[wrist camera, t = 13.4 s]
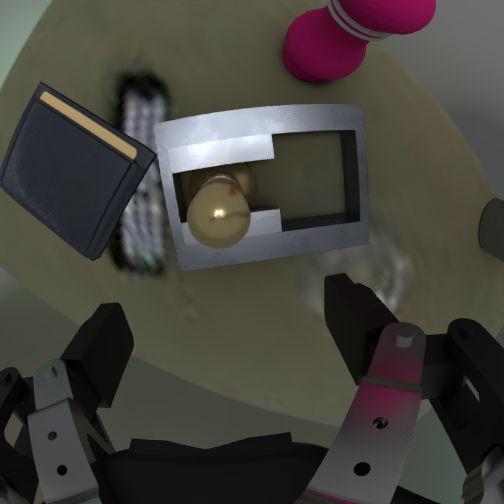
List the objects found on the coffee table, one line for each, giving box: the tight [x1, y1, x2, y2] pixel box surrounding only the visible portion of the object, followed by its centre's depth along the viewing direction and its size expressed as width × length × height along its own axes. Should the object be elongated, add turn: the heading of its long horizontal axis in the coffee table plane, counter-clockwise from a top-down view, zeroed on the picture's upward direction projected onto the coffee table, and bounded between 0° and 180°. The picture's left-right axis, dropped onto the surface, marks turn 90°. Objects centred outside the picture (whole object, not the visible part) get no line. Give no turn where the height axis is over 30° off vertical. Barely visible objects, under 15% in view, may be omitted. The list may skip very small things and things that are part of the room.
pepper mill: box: [283, 0, 436, 83], centre depth 14 cm, size 7×7×20 cm
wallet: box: [0, 82, 157, 261], centre depth 25 cm, size 20×2×15 cm
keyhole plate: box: [154, 104, 369, 272], centre depth 26 cm, size 19×14×4 cm
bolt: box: [187, 162, 256, 249], centre depth 21 cm, size 6×6×14 cm
